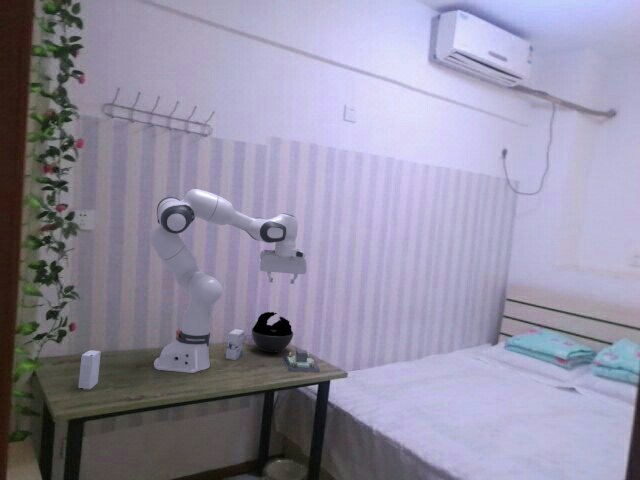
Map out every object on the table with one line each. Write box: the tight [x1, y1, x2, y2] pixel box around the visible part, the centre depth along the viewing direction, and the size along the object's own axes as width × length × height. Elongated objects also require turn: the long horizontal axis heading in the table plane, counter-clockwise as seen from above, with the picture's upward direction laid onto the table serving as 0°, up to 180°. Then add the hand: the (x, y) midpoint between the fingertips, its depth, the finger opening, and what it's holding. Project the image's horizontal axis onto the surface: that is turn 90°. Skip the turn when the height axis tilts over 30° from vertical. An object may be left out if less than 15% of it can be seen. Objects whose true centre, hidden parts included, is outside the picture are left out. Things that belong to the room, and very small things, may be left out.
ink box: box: [225, 328, 246, 361], centre depth 221 cm, size 9×5×12 cm, turn 168°
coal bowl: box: [251, 311, 294, 353], centre depth 235 cm, size 20×20×19 cm
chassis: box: [282, 351, 321, 373], centre depth 219 cm, size 14×15×5 cm
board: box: [287, 349, 315, 368], centre depth 219 cm, size 11×13×5 cm
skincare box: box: [78, 349, 101, 390], centre depth 172 cm, size 6×4×12 cm
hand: (281, 282), depth 212 cm, fingers open, 8 cm apart
